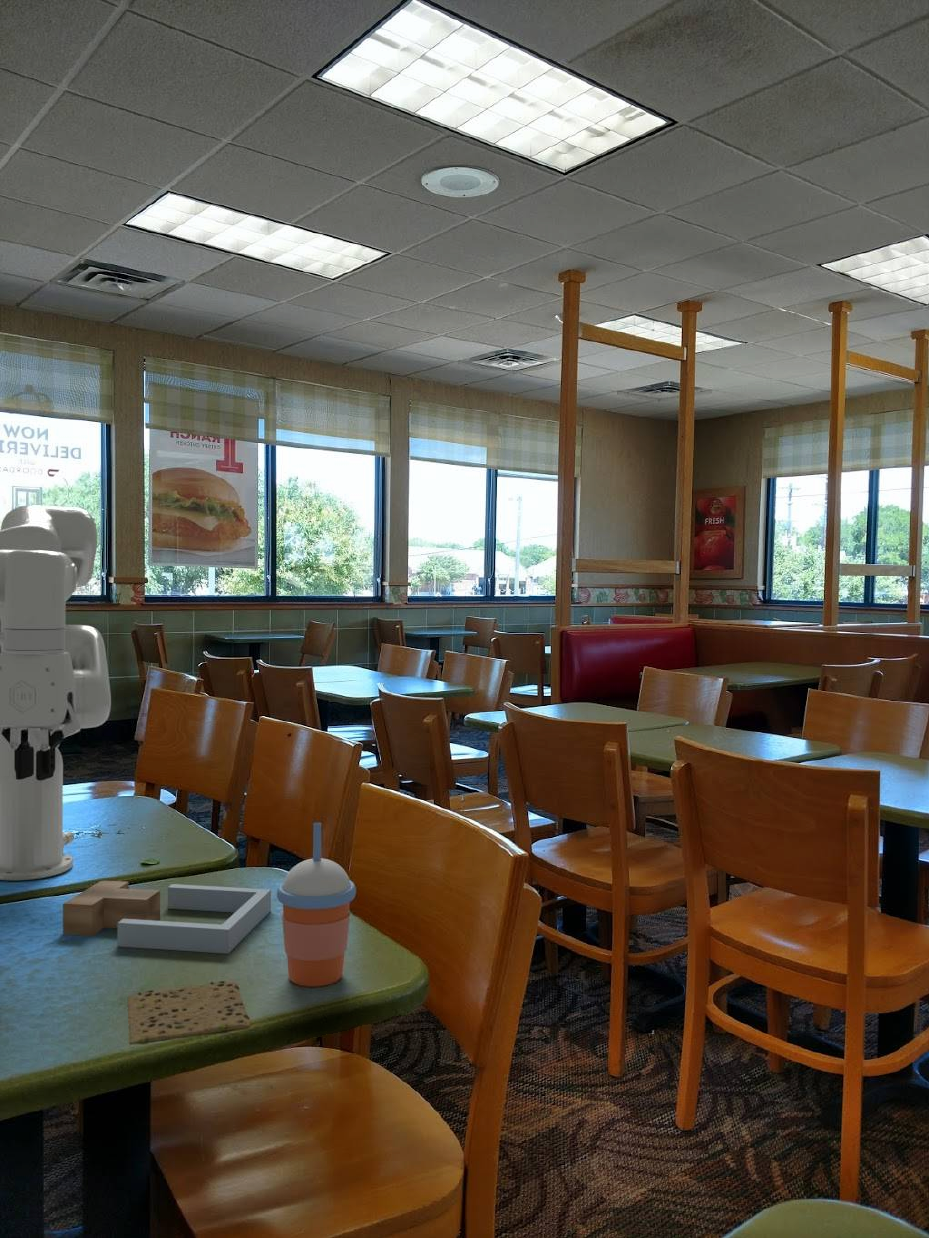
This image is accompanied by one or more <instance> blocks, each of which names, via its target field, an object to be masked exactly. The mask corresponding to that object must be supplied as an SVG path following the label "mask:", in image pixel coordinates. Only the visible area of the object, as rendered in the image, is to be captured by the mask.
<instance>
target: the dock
mask: <svg viewBox="0 0 929 1238" xmlns="http://www.w3.org/2000/svg"><path fill="white" fill-rule="evenodd" d="M167 909H173V910H188V911H189V910H190V911H203V912H222V913H233V914H232V915H231V916H230V917H228V918H227V919H226V920H225V921H224V922H223V923H222V924H215V923H200V922H199V923H198V922H184V921H182V922H181V921H170V920H169V921H166V920H159V921H153V920H137V919H122V920H121V921H119V922H118V928H117V942H116V943H117V945H116V947H120V948H121V947H123V948H137V949H150V950H151V949H153V950H168V951H182V952H184V951H185V952H196V953H198V952H200V953H211V954H213V953H214V954H225V955H226V954H227V955H228V954H230V953H231V952H232V951H233V950H234V949H235V948H236V947H237V946H238V945H239V944H240V943H241V942H242V941H243V940H244V939H245V938H246V937H247V936H248V935H249V934H250V933H251V932H252V931H253V929H255V928H256V927H257V926H258V925H259V924H260V923H261V922H262V921H263V919H265V918H266V916H267V915H269V913H271V912H272V889H267V888H266V889H265V888H251V887H250V888H248V887H234V886H232V887H231V886H230V887H229V886H214V885H212V886H211V885H198V884H197V885H196V884H195V885H194V884H178V883H171V885H169V886H168V887H167Z"/></svg>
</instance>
